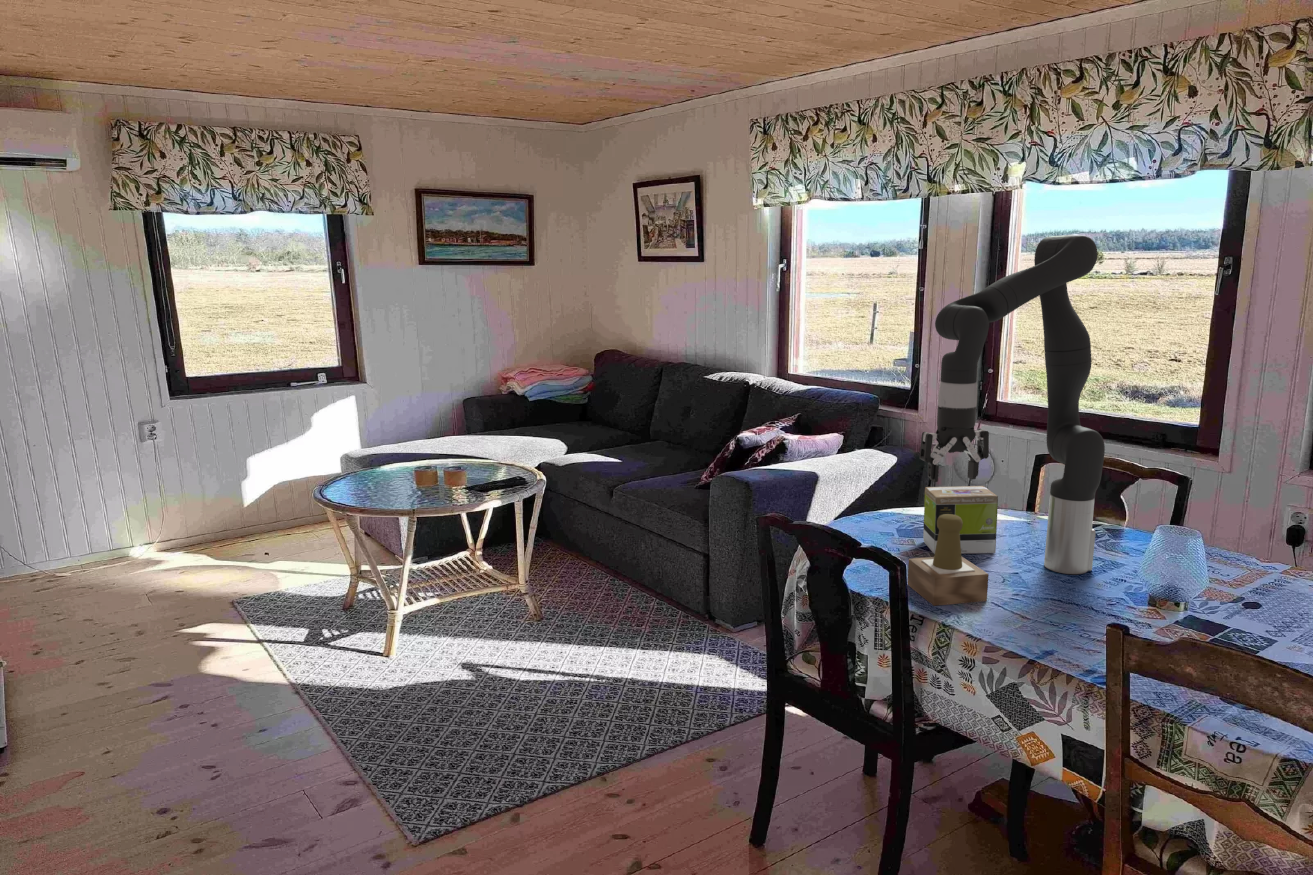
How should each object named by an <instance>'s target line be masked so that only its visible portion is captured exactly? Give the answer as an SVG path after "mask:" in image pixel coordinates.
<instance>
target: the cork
mask: <svg viewBox="0 0 1313 875" xmlns="http://www.w3.org/2000/svg"><path fill="white" fill-rule="evenodd" d="M962 525H963V522H962V519H961V518H960V517H959V516H957V515H953V514H943V515H941V516H939V517H938V520H937V527H938V529H939V534H938V539H937V545H936V550H935V554H933V555H934V556H933V557H934V560H933V565H934V566H935V567H937V568H940V569H946V570H956V569H960V568H962V557H963V556H962V554H961V544H960V530H961V529H962Z"/></svg>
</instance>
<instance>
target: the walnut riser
mask: <svg viewBox="0 0 1313 875" xmlns="http://www.w3.org/2000/svg"><path fill="white" fill-rule="evenodd" d="M933 560H934V556H929V557H915V558H914V557H913V558H908V566H907V568H908V569H907V583H908V585H909V586H908V585H907V586H908V587H910V588H911V589H912V590H913V591H914V592H916V593H917V594H919V596H921V597H922V598H923V599H924V600H926V601H927V602H928V603H930V605H932V606H933V607H934V606H946V605H948V606H949V605H956V604H957V605H958V604H968V603H979V602H980V603H981V602H987V601H988V589H989V588H988V586H989V575H990V574H989V573H988V572H986V571H985V570H983V569H982V568H980V567H978V566H977V565H975V564H974V563H973V562H971V561H970V560H968V559H966V558H965V557H963V556H962V568H960V569H956V570H946V569H940V568H937V567H935V566H934V565H933Z"/></svg>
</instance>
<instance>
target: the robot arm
mask: <svg viewBox="0 0 1313 875" xmlns="http://www.w3.org/2000/svg"><path fill="white" fill-rule="evenodd" d="M1097 261H1098V248H1097V245H1096V242H1095V241H1094V240H1093V239H1092V237H1090V236H1087V235H1084V234H1064V235H1052V236H1051V235H1050V236H1046V237H1044V238H1042V239H1041V240H1040V241H1039V243H1037V246H1036V249H1035V253H1034V260H1033V262H1034V265H1033V266H1031V267H1028V268H1025V269H1022V270H1019V271H1017V272H1013V273H1011V274H1008V275H1006V276H1004V277H1002V278H1000V279H998V280H996V281H995V282H993V283H991V284H990V285H988V286H986V287H985V288H982V290H980V291H979V292H976V293H974V294H970V295H967V296H965V297H962V298H959V299H957V300H955V301H953V302H951V303H949V304H947V305H945V306H944V307H943V308H941V310H940V311H939V312H938V314H937V315H936V317H935V322H934V328H935V331H936V332H937V334H938V335H939V336H940V337H942V338H944V339H946V340H953V341H957V346H956V348H955V351H951V352H947V353H945V354H943V356H942V358H941V366H940V368H941V369H940V382H939V388H938V395H937V413H936V414H937V416H936V425H937V428H936V431H935V432H927V431H923V432H922V433H921V440H920V446H919V447H920V448H919V460H921V461H922V462H923V461H924V462H925V463H927V465H928V466H927V477H928V478H929V480H930V481H931V482H933V483H937V482H938V481H939V469H940V468H939V466H940V464H939V462H941V460H942V458H943V457H945V456H946V455H947V454H948V453H949V454H953V453H956V452H957V453H965V454H966V456H967V458H969V460H967V461H968V462H967V463H968V464H967V478H968V479H970V480H976V478H977V477H978V476H979V468H980V462H981V460H986V459H988V458H989V456H990V455H989V454H990V453H989V450H990V449H989V448H990V446H989V444H990V442H989V438H990V432H989V431H988V430H986V429H983V428H978V429H977V430H975V426H976V418H977V417H976V416H977V403H978V388H977V383H978V382H977V380H978V379H977V378H978V365H979V364H978V363H979V360H980V357H981V354H982V352H983V348H984V345H985V343H986V340H987V336H988V333H989V328H990V323H993V322H994V323H995V322H997V321H999V320H1002V319H1003V318H1005V317H1006V316H1007V315H1009V314H1010V313H1012V312H1014V311H1016V310H1017V309H1019V308H1020V307H1022V306H1024V305H1025V304H1026V303H1028V302H1030V301H1032V300H1034V299H1035V298H1038V297H1039V301H1040V306H1041V307H1040V308H1041V316H1042V328H1043V346H1044V347H1043V349H1044V365H1045V373H1046V390H1047V421H1046V423H1047V424H1046V449H1047V452H1048V454H1049V456H1050V457H1051V458H1052V459H1053V460H1055V461H1056V462H1058V463H1061V464H1064V468H1063V474H1062V478H1059V479H1054V480H1053V481H1051V483H1050V489H1049V501H1048V502H1049V503H1048V512H1047V514H1048V515H1047V526H1046V527H1047V528H1046V537H1045V538H1046V539H1045V549H1044V550H1045V551H1044V563H1043V564H1044V567H1045V568H1046V569H1048V570H1049V571H1053V572H1055V573H1060V574H1066V575H1081V574H1085V573H1088V572H1089V571H1092V570H1093V564H1094V563H1093V562H1094V553H1095V543H1096V530H1095V529H1094V528H1093V521H1094V511H1095V510H1094V508H1095V498H1096V492H1097V490H1098V488H1099V487H1100V483H1101V481H1102V474H1103V467H1104V462H1105V453H1106V452H1105V450H1106V449H1105V448H1106V447H1105V441H1104V438H1103V436H1102V435H1101V434H1100V433H1099V431H1097V430H1096V429H1095V430H1094V429H1091V428H1089V427H1086V426H1085V427H1084V426H1082V425H1081V419H1080V405H1079V404H1080V397H1081V394H1082V392H1083V390H1084V387H1085V385H1086V383H1087V381H1088V378H1089V377H1090V376H1089V375H1090V373H1091V370H1092V348H1091V347H1092V346H1091V345H1092V343H1091V337H1090V334H1089V332H1088V330H1087V328H1086V326H1085V324H1084V322H1083V321H1082V319H1081V318H1080V317H1079V315H1078V313H1077V312H1076V310H1075V308H1074V307H1073V305H1072V303H1071V301H1070V297H1069V293H1068V283H1069V282H1073V281H1075V280H1078V279H1080V278H1083V277H1084V276H1087V275H1088V274H1090V272H1092V270H1093V269H1094V268H1095V265H1096V262H1097ZM974 439H976V442H977V443H976V444H977V447H976V448H975V447H974V445H973V444H972V442H973V441H974ZM935 440H936V442H937V443H936V444H935V445H934V447H933V443H934V442H935ZM932 447H933V448H932Z"/></svg>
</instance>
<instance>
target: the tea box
mask: <svg viewBox="0 0 1313 875" xmlns="http://www.w3.org/2000/svg"><path fill="white" fill-rule="evenodd" d="M923 506H924V507H923V508H924V510H923V532H922V533H923V535H922V536H923V537H922V538H923V540H922V541H923V543H924V544H925V545H926V546H927V547H928V548H929V550H930V551H931V552H932V554H933V555H935V550H936V545H937V539H938V534H939V529H938V527H937V520H938V517H939V516H941V515H943V514H953V515H957V516H959V517H960V518H961V519H962V522H963V525H962V529H961V530H960V544H961V555H962V554H996V547H997V529H998V528H997V526H998V506H999V496H998V495H997V494H995V493H994V492H992V491H991V490H990V489H988V488H987V487H985V485H970V486H969V485H965V486H964V485H963V486H927V487H926V486H925V488H924V505H923Z"/></svg>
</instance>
